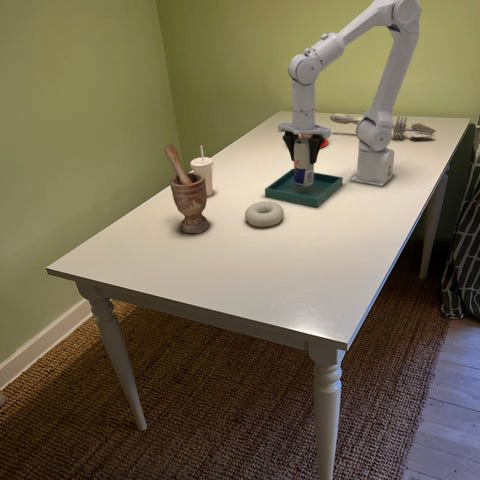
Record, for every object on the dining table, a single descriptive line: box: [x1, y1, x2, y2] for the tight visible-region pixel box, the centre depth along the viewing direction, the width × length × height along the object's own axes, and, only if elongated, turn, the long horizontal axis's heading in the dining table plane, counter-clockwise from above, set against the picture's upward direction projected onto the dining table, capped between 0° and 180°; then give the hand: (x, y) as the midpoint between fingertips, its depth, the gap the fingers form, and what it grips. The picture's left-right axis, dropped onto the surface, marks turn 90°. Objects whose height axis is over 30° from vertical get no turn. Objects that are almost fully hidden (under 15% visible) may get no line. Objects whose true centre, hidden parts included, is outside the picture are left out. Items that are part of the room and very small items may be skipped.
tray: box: [264, 168, 344, 209], centre depth 134 cm, size 16×15×2 cm
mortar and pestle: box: [163, 143, 210, 234], centre depth 119 cm, size 12×9×20 cm
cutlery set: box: [329, 113, 437, 140], centre depth 159 cm, size 8×35×8 cm
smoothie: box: [190, 145, 214, 197], centre depth 135 cm, size 6×6×14 cm
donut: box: [244, 200, 285, 228], centre depth 123 cm, size 10×4×10 cm
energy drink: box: [293, 137, 315, 188], centre depth 130 cm, size 5×5×12 cm
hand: (303, 161), depth 130 cm, fingers closed on energy drink, 5 cm apart
